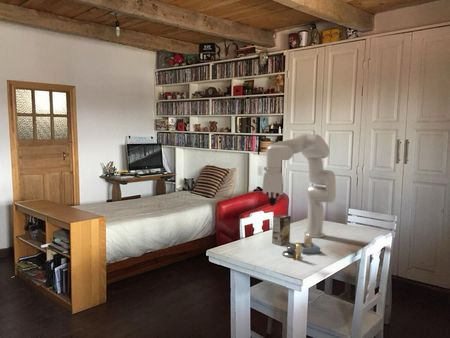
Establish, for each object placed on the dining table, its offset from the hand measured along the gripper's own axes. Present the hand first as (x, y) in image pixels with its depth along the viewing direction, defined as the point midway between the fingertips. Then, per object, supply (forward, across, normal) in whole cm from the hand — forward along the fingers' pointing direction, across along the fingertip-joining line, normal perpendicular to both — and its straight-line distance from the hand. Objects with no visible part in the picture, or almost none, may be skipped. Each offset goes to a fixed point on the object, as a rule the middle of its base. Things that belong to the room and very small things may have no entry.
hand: (272, 205), depth 202 cm
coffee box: (+27, 0, +25) cm, 37 cm away
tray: (+27, +17, +17) cm, 36 cm away
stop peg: (+26, +17, +17) cm, 35 cm away
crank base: (+27, +11, +4) cm, 29 cm away
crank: (+26, +12, +3) cm, 29 cm away
